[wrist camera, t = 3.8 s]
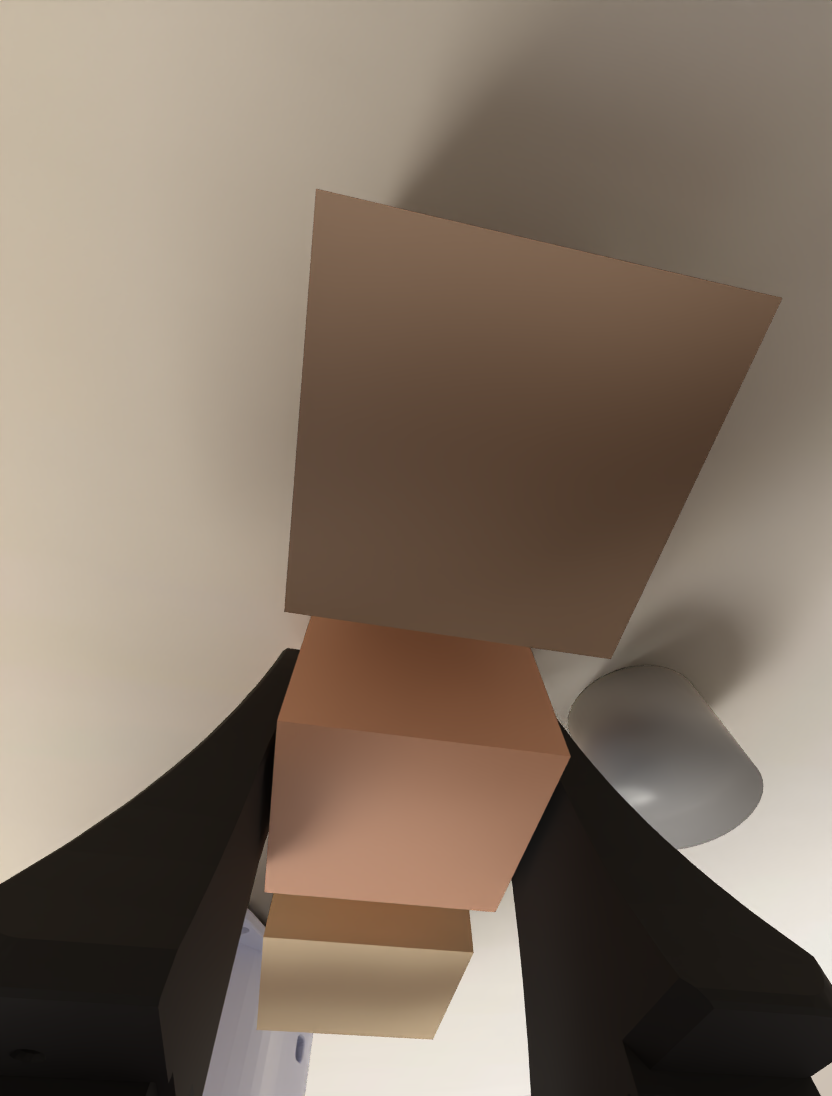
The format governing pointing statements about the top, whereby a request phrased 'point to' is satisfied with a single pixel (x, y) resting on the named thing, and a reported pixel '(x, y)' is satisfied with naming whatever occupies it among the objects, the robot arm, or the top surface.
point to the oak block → (360, 966)
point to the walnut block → (498, 426)
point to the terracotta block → (409, 767)
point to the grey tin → (666, 753)
